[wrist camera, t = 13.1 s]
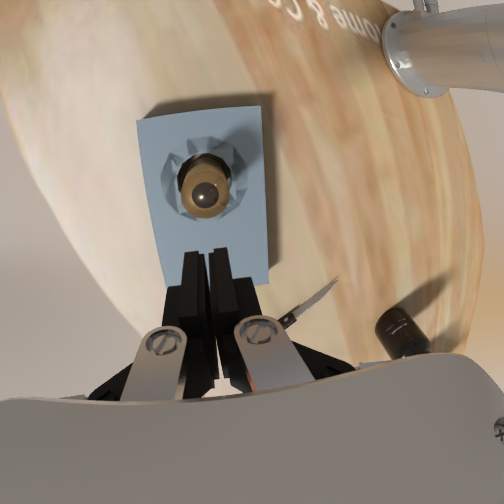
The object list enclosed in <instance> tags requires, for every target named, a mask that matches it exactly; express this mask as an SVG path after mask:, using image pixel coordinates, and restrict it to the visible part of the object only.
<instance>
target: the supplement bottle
mask: <svg viewBox="0 0 504 504" xmlns="http://www.w3.org/2000/svg"><path fill="white" fill-rule="evenodd" d="M375 334H376V336H377V337H378V339H379V341H380V342H381V344H382V345H383V347H384V348H385V350H386V352H387V353H388V355H389V356H390V358H391V359H392V360H397V359H400V358H404V357H409V356H413V355H419V354H427V353H431V352H430V351H429V350H430V341H429V339H428V338H427V337H426V335H425V334H424V333H423V331H422V330H421V329H420V328H419V326H418V325H417V324H416V323H415V321H414V320H413V319H412V318H411V317H410V315H409V314H408V313H407V312H406V311H405V310H404V309H401V308H395V309H392V310H390V311H388V312H387V313H385V314H384V315H383V316H382V317H381V318H380V319H379V321H378V322H377V324H376V327H375Z"/></svg>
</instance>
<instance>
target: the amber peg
mask: <svg viewBox="0 0 504 504" xmlns="http://www.w3.org/2000/svg"><path fill="white" fill-rule="evenodd" d="M229 199H230V190H229V186H228V183H227V180H226V177H225V174H224V171H223V169H222V166H221V165H220V164H219V163H218V162H217V161H216V160H214V159H212V158H208V157H203V158H199V159H197V160H195V161H194V162H192V163H191V164H190V166H189V168H188V170H187V173H186V176H185V179H184V183H183V186H182V189H181V201H182V204H183V206H184V208H185V209H186V210H187V211H188V212H189V213H190V214H191V215H193V216H195V217H198V218H204V219H206V218H212V217H215V216H217V215H219V214H220V213H221V212H223V211H224V209H225V208H226V207H227V205H228V202H229Z"/></svg>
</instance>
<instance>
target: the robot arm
mask: <svg viewBox="0 0 504 504" xmlns="http://www.w3.org/2000/svg"><path fill="white" fill-rule="evenodd" d="M424 2H425V6H426V9H427V12H426V11H425V10H424V7H423V6H424V4H423V0H413V3H414V6H415V9H414V10H413V11H401V12H398V13H395V14H393V15H391V16H390V17H389V18H388V19H387V21H386V22H385V24H384V27H383V30H382V48H383V52H384V56H385V58H386V61H387V63H388V66H389V67H390V69H391V71H392V73H393V74H394V76H395V77H396V78H397V80H398V81H399V82H400V83H401V84H402V85H403V86H404V87H405V88H406V89H407V90H409V91H410V92H412V93H413V94H415V95H417V96H421V97H426V98H435V97H439V96H441V95H443V94H444V93H445V92H446V91H447V90H448V89H449V87H451V88H467V89H477V90H486V91H494V92H501V93H504V3H503V4H493V5H484V6H477V7H470V8H463V9H458V10H452V11H448V12H443V13H439V11H438V2H437V0H424ZM213 250H214V252H212V253H208V257H209V278H210V287H209V281H208V275H207V268H206V262H205V255H204V254H199V251H190V252H185V253H184V260H183V269H182V279H181V285H176V286H169V287H168V288H167V294H166V300H165V307H164V313H163V320H162V327H158V328H155V329H153V330H151V331H150V332H148V333H147V334H146V335H145V336H144V338H143V339H142V341H141V344H140V346H139V349H138V352H137V354H136V357H135V359H134V362H133V363H131V364H130V365H129V366H127V367H126V368H125V369H123V370H122V371H120V372H119V373H118V374H116V375H115V376H113V377H112V378H111V379H109V380H108V381H107V382H105V383H104V384H102V385H101V386H99V387H98V388H97V389H95V390H94V391H93V392H92V393H91V394H90V395H89V397H86V396H85V395H78V396H71V397H64V398H44V397H17V398H9V399H5V400H2V401H0V504H504V393H503V392H502V391H501V389H500V388H499V387H498V385H497V384H496V383H495V382H494V381H493V379H492V378H491V377H490V376H489V375H488V374H487V373H486V372H485V371H484V370H483V369H482V368H481V367H480V366H479V365H478V364H477V363H475V362H474V361H473V360H471V359H470V358H468V357H466V356H464V355H461V354H456V353H448V352H445V353H427V354H419V355H413V356H409V357H404V358H400V359H397V360H389V361H380V362H369V363H359V366H358V367H353V366H352V365H350V364H348V363H347V362H345V361H342V360H339V359H337V358H334V357H331V356H329V355H326V354H323V353H321V352H318V351H316V350H313V349H311V348H308V347H306V346H303V345H301V344H298V343H296V342H293V341H291V340H290V338H289V337H288V335H287V333H286V332H285V330H284V328H283V327H282V325H281V324H280V323H279V322H278V321H277V320H276V319H274V318H272V317H269V316H263V315H262V312H261V309H260V305H259V302H258V298H257V295H256V291H255V288H254V284H253V281H252V278H251V277H243V278H235V279H233V278H232V272H231V267H230V261H229V255H228V250H227V247H223V248H215V249H213ZM216 340H217V346H218V351H219V356H220V361H221V366H222V370H223V375H224V378H230V383H231V386H233V387H235V388H237V389H238V390H240V391H242V392H243V393H242V394H234V395H226V396H217V397H207V398H205V396H204V394H205V393H207V392H208V391H209V390H210V389H212V388H215V386H214V380H215V379H219V368H218V357H217V346H216Z"/></svg>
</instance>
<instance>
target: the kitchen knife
mask: <svg viewBox="0 0 504 504" xmlns="http://www.w3.org/2000/svg"><path fill="white" fill-rule="evenodd" d="M337 281H338V280H337ZM337 281H334V282H332V283H330V284H329V285H327V286H326V287H324V288H323V289H321V290H320V291H319V292H317V293H316V294H315V295H314V296H312V297H311V298H310V299H309V300H307V301H306V302H305V303H303V304H302V305H301V306H300V307H298V308H297V309H296V310H294V311H293V312H292V313H290V314H288V315H287V316H285V317H284V318H282V319H280V320H279V321H278V322H279V323H280V324H281V325H282V327H283V328H284V330H285V329H286V328H288V327H289V326H290V325H292V324H293V323H294V322H296V321H297V318H298V317H299V316H300V315H302V314H303V313H304V312H306V311H307V310H308V309H309V308H311V307H312V306H313V305H315V304H316V303H317V302H318V301H320V300H321V299H322V298H323V297H324V296H325V295H326V294H327V293H328V292H329V291H330V290H331V288H332V287H333V286H334V285H335V284H336V283H337Z"/></svg>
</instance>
